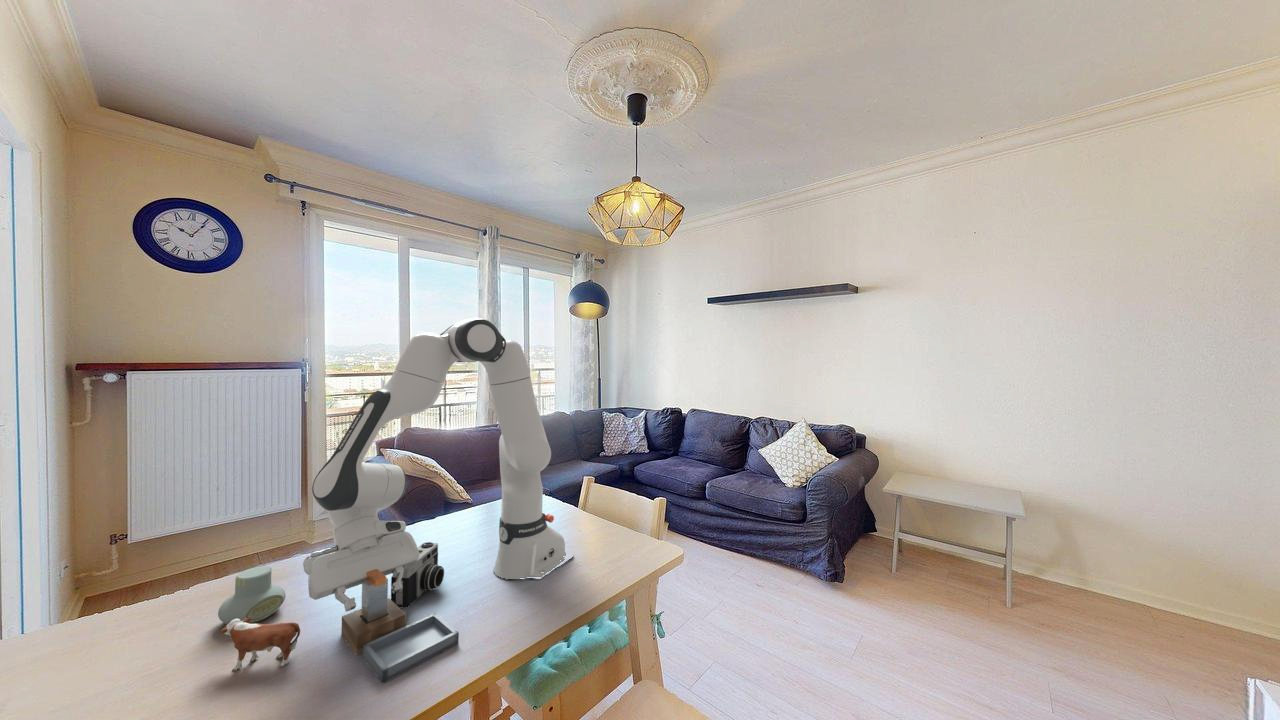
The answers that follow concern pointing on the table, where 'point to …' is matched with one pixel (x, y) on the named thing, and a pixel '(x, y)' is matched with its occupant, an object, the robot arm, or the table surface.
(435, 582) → the camera
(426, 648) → the tray
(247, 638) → the bull figurine
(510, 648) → the table surface
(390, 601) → the hitch block
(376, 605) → the orange-topped grey block
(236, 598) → the air freshener
